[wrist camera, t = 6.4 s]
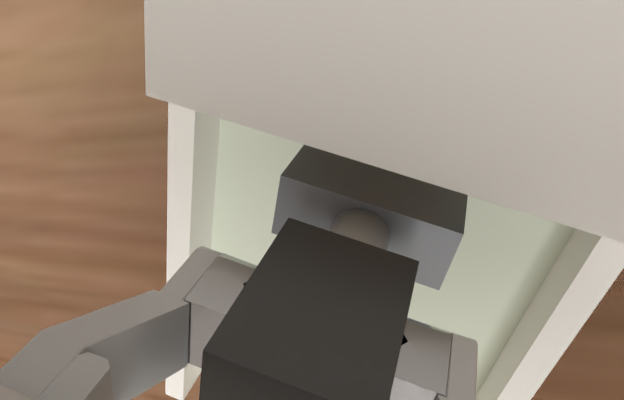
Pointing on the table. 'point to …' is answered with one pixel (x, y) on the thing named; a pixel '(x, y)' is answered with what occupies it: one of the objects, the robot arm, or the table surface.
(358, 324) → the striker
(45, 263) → the table surface
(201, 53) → the tray
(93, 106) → the table surface
